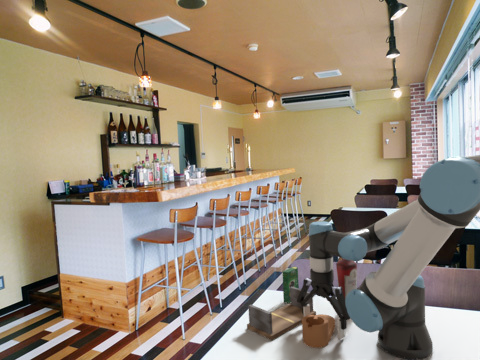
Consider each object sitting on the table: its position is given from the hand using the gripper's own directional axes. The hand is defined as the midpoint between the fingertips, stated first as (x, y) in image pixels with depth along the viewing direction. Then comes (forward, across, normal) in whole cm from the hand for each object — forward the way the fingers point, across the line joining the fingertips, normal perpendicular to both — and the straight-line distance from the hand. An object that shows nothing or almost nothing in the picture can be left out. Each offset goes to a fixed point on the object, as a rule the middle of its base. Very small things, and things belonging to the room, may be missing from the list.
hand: (323, 330), depth 117 cm
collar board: (+1, +16, +3) cm, 16 cm away
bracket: (+1, +1, +1) cm, 2 cm away
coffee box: (+2, +26, -14) cm, 29 cm away
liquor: (+1, +2, -18) cm, 18 cm away
